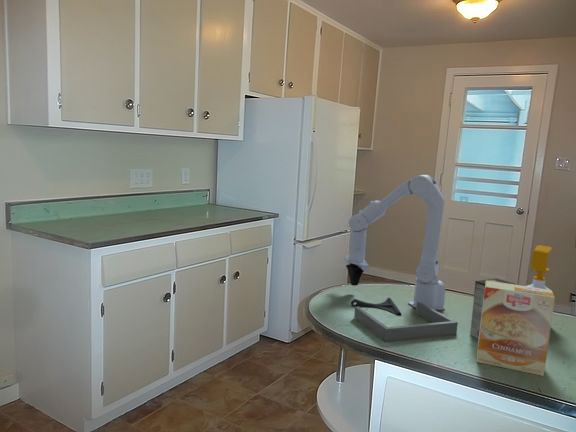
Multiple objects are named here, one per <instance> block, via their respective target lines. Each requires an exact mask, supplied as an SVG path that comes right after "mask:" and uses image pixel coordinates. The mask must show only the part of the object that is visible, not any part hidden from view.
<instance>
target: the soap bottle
mask: <svg viewBox="0 0 576 432" xmlns="http://www.w3.org/2000/svg"><path fill="white" fill-rule="evenodd" d="M552 249H553V248H552V246H549V245H547V246H546V245H540V244H538V245H536V246H535V248H534V249H533V252H532V257H531V264H530V269H531V270H534V272H535V273H536V276H535V275H534V276H533V278H532V283H531V284H528V285H527V284H526V286H528V287H534V288H541V289H548V290H551V289H550V288H549V287H547V286H546V277H544V274H546V273H548V272H549V271H550V268H547V266H548V258H549V255H550V253H551V251H552ZM553 295H554V293H553ZM554 296H555V295H554Z"/></svg>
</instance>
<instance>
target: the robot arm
mask: <svg viewBox="0 0 576 432" xmlns="http://www.w3.org/2000/svg"><path fill="white" fill-rule="evenodd" d="M410 195H416V196H418V197H420V198H421V199H422V200H423V201H424V203H426V204H427V205H428V207H427V214H426V215H427V216H426V220H425V221H426V222H425V231H424V236H423V245H422V253H421V256H420V258H419V259H420V260H419V264H418V266H417V267H416V269H415V276H416V277H415V284H414V296H413V301H408V302H407V304H408V305H410V306H412V307H414V308H415V309H416V306H417V302H421V303H423V304H425V305H426V306H428V307H430V308H432V309H434V310H436V311H438V310H440V311H441V310H446V307H445V300H446V286H445V284H444V282H443V281H441V280H439V278H438V277H437V275H438V274H439V273H440V271H441V267H440V264H439V246H440V238H441V231H442V224H443V218H444V217H443V215H444V211H445V210H444V209H445V197H444V196H443V194H442V191H441V190H440V187H439V185H438V182H437V181H436V180H435V179H434V178H433V177H432V176H430V175H429V174H420V175H419V174H417V175H415V176H413V177H412V178H411V179H408V180H406V181H404V182H403V183H401V184H400V185H399V186H397V187H396V188H395V189H394V190H393V191H392V192H389V194H388V195H386V196H385V197H384V198H383V199H381V200H378V199H377V200H374V201H373V200H371V201H369V202H368V205H367V206H365V207H364V208H363V209H360V210H358V214H353V215H352V216H351V217H350V218H349V220H348V226H349V228H350V233H349V244H348V254H345V255H344V257H343V258H344V261H345V263H347V264H346V265H345V267H346V269H347V272H348V275H349V279H350V280H349V281H350V285H351V286H359V282H360V280H361V277H362V275H363V273H364V272H365V271H369V268H370V265H369V264H368V263H367V262H366V260H365V258H366V243H367V230H368V228H369V227H370V225H372V224H373V223H374V222H376V221H377V220H378V219H380V218H382V217H383V216H384V215H385V214H386V211H387V208H389V207H390V206H391V205H393V204H395V203H396V202H397V201H400V199H402V198H404V197H405V196H410Z"/></svg>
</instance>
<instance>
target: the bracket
mask: <svg viewBox="0 0 576 432" xmlns="http://www.w3.org/2000/svg"><path fill="white" fill-rule="evenodd" d="M350 304H351V307H360V308H361V307H362V308H363V307H364V308H376V309H381V310H383V311H387V312H389V313H391V314H393V315H394V316H395V315H396V316H398V314H399V316H402V313H401V311H400V310H399V308H398V306H397V305H396V303H395V302H394V301H393V299H392V298H391V297H387V298H386V299H385V301H383V302H379V303H373V302H365V301H363V300H359V299H358V298H353V299H352V300H351V302H350Z"/></svg>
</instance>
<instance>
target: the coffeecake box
mask: <svg viewBox="0 0 576 432" xmlns="http://www.w3.org/2000/svg"><path fill="white" fill-rule="evenodd" d="M485 280H486V283H485V290H484V298H483V307H482V315H481V323H480V330H479V339H478V338H477V339H478V340H477V341H478V342H477V347H476V348H477V350H476V363H480V364H485V365H490V366H495V367H500V368H504V369H508V370H512V371H518V372H523V373H528V374H532V375H537V376H541V377H544V376H545V371H546V364H547V357H548V356H547V355H548V350H549V343H550V335H551V328H552V323H553V321H552V320H553V314H554V308H555V298H556V297H555V295H553V294H554V292H553V290H552V289H550V290H548V289H549V288H548V289H541V288H534V287H528V286H527V285H520V284H516V285H514V284H515V283H514V284H507V283H501V282H494V281H488V279H485Z"/></svg>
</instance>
